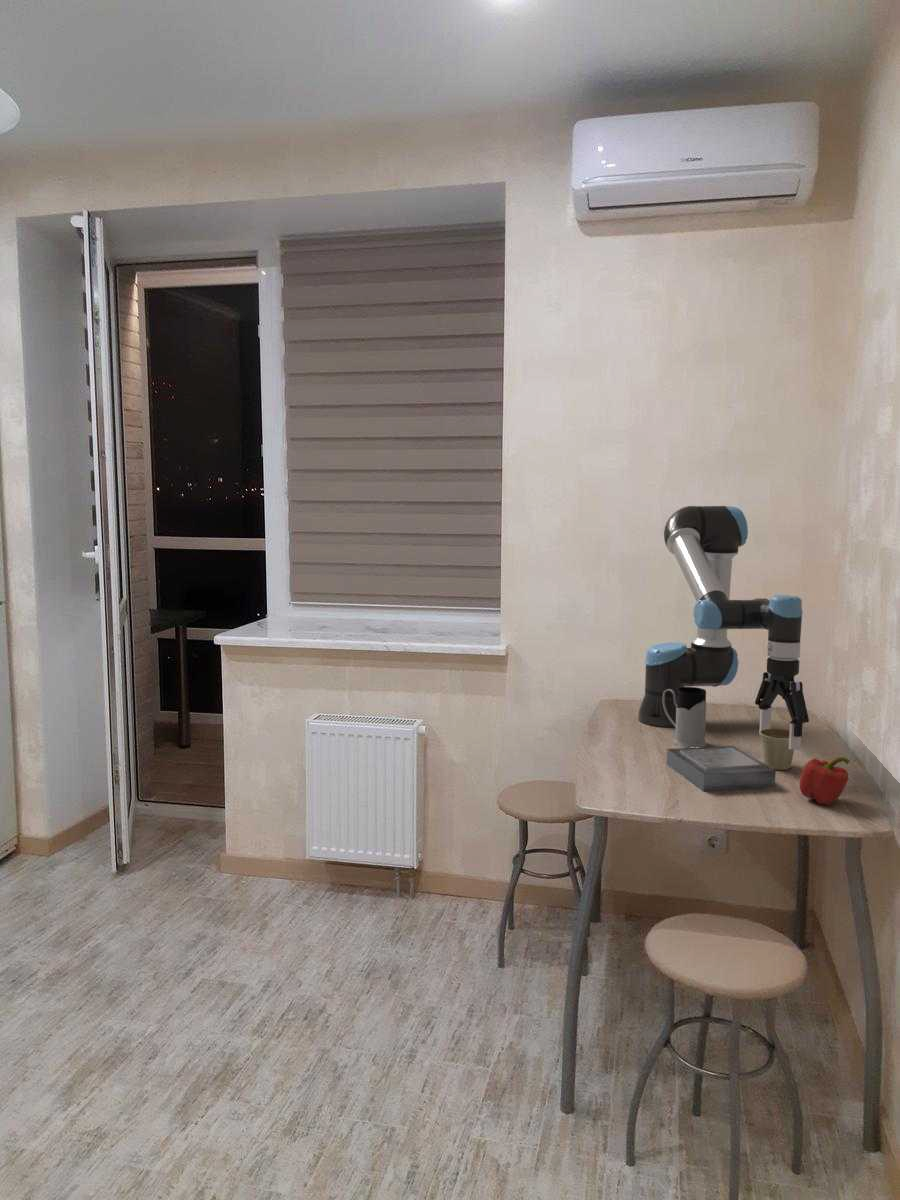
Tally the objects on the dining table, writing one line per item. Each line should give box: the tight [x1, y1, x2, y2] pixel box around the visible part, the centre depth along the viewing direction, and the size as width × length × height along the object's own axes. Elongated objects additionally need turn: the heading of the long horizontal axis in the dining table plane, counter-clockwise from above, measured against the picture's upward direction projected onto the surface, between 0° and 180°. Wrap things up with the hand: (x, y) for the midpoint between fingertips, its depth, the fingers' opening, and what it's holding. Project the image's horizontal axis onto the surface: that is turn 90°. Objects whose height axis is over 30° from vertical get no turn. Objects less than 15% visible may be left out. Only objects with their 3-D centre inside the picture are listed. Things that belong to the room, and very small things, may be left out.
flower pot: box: [758, 727, 795, 771], centre depth 216 cm, size 9×9×9 cm
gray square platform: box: [666, 745, 777, 792], centre depth 209 cm, size 20×18×4 cm
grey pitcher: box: [662, 686, 707, 748], centre depth 237 cm, size 9×14×15 cm, turn 36°
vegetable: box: [799, 757, 851, 805], centre depth 192 cm, size 11×10×10 cm
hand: (779, 741), depth 215 cm, fingers open, 13 cm apart
